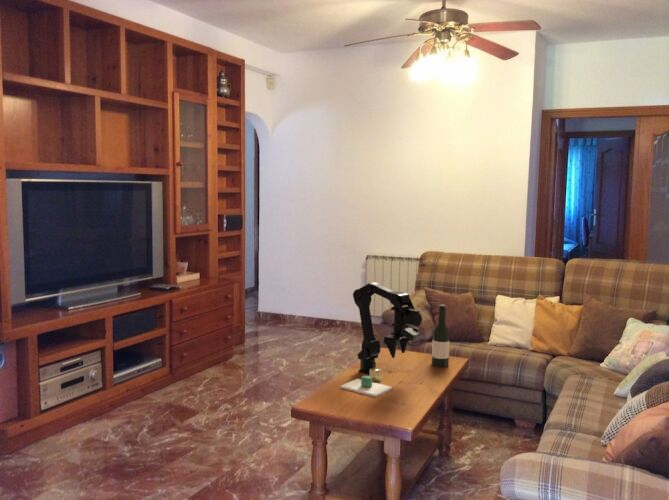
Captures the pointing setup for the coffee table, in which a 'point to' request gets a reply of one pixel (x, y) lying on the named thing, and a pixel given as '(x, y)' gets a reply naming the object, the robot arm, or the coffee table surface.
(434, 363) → the wine bottle
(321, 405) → the coffee table surface
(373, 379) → the cap
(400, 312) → the robot arm
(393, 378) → the coffee table surface
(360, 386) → the neck block
